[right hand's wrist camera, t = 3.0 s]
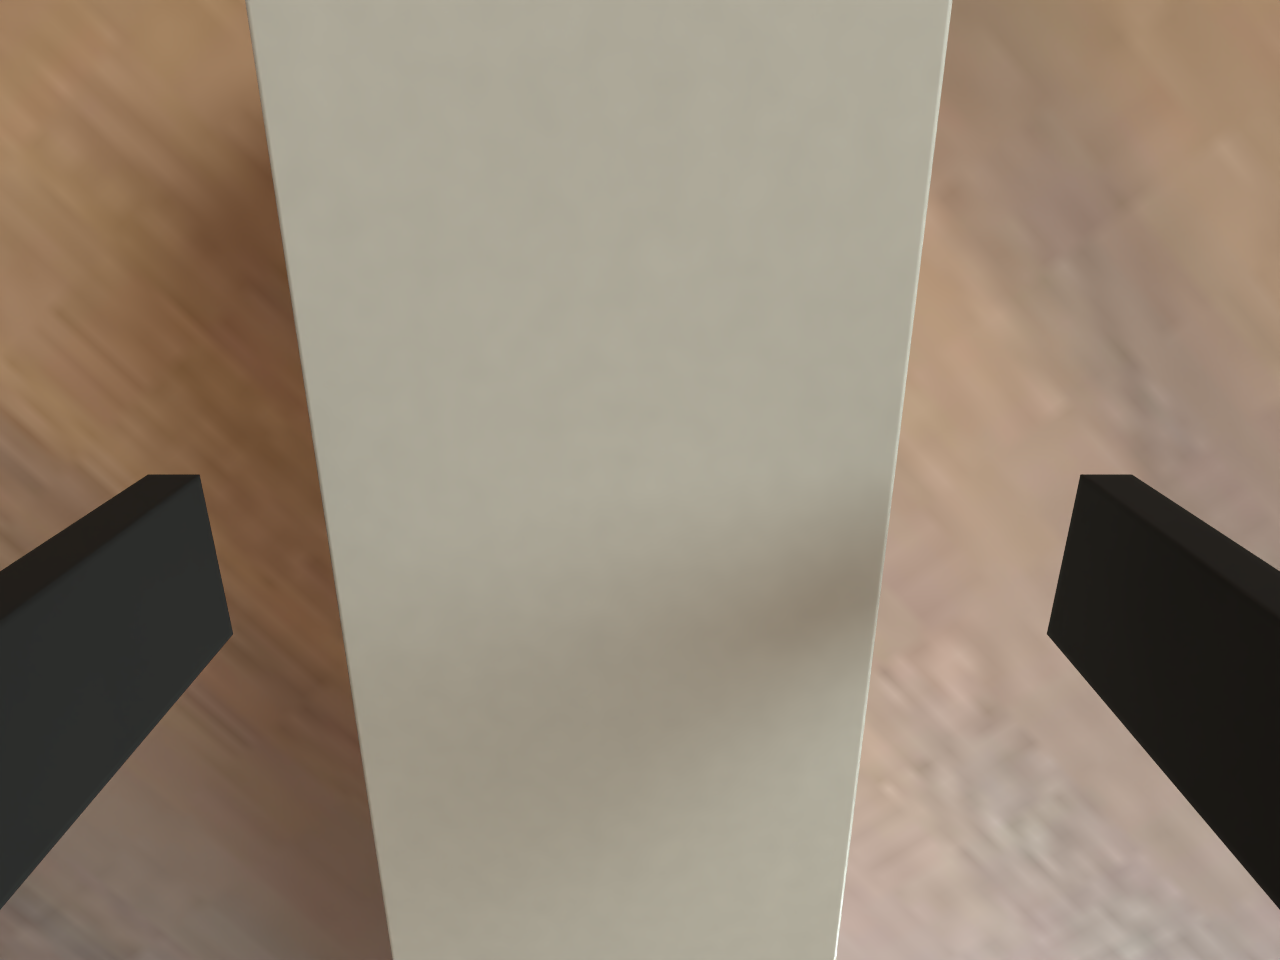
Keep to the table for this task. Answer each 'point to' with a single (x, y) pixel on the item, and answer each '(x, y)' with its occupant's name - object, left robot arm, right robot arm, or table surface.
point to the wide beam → (605, 443)
